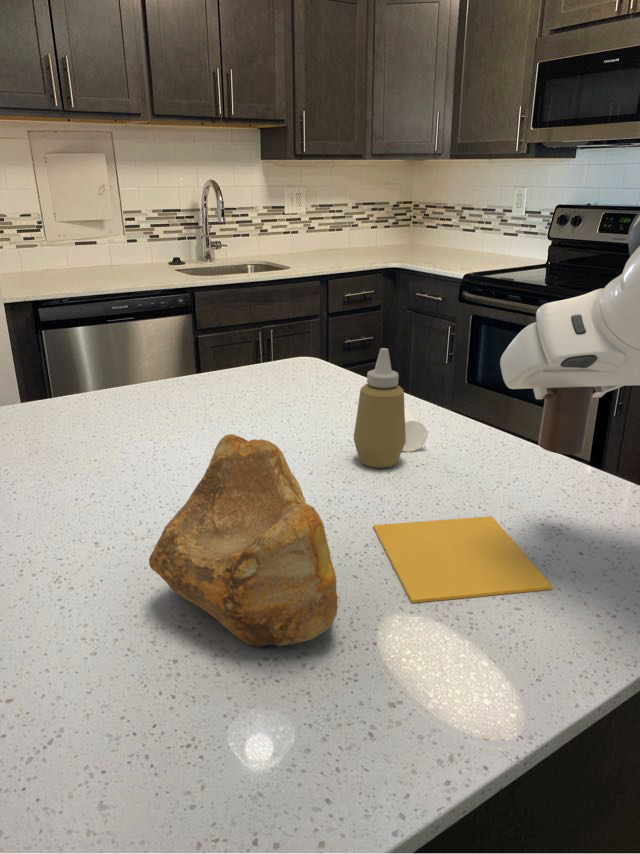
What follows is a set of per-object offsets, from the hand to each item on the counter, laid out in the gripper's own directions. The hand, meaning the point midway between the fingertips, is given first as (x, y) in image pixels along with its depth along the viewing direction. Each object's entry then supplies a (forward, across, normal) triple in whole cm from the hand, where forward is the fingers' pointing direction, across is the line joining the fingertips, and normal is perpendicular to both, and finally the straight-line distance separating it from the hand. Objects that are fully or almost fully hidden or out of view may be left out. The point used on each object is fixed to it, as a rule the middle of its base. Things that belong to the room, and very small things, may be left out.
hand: (565, 393), depth 79 cm
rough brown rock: (+6, +40, +20) cm, 45 cm away
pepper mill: (+4, 0, +5) cm, 7 cm away
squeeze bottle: (+29, +17, -3) cm, 33 cm away
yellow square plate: (+9, +14, +17) cm, 23 cm away
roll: (+35, +11, -10) cm, 38 cm away
